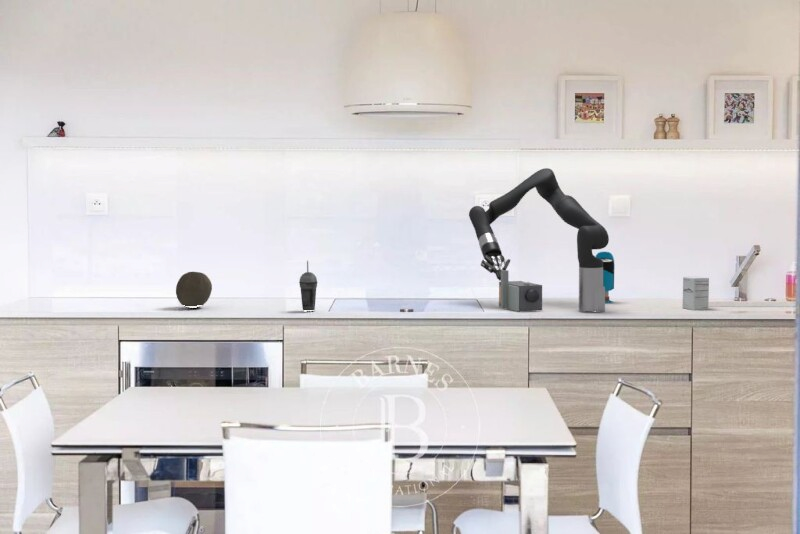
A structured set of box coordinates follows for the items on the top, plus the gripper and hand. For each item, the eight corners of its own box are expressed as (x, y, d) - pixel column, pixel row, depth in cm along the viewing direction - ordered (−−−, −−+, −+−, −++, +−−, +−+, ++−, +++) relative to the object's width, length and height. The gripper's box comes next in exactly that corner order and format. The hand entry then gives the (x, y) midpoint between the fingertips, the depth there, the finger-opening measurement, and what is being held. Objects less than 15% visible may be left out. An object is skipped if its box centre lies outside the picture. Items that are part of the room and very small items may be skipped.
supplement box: (681, 308, 410) (682, 276, 409) (697, 307, 412) (697, 276, 411) (693, 310, 403) (693, 278, 402) (709, 309, 405) (709, 277, 404)
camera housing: (498, 306, 421) (498, 279, 420) (520, 305, 424) (520, 278, 423) (521, 312, 400) (521, 283, 399) (544, 311, 403) (544, 283, 402)
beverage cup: (301, 313, 401) (300, 261, 400) (297, 310, 408) (297, 260, 407) (319, 312, 403) (318, 261, 402) (316, 310, 410) (315, 260, 409)
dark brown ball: (206, 310, 411) (205, 273, 410) (171, 310, 413) (170, 273, 412) (216, 306, 425) (215, 270, 424) (183, 306, 427) (182, 270, 426)
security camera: (594, 252, 426) (592, 251, 436) (594, 303, 428) (592, 301, 438) (615, 252, 425) (612, 251, 435) (615, 303, 427) (612, 301, 437)
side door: (500, 308, 409) (500, 270, 408) (508, 308, 411) (508, 270, 409) (511, 311, 400) (511, 272, 399) (519, 310, 401) (519, 272, 400)
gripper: (501, 252, 426) (514, 284, 415) (472, 253, 422) (483, 285, 411) (507, 240, 421) (519, 272, 410) (477, 241, 416) (488, 273, 406)
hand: (501, 279), depth 411 cm, fingers closed
